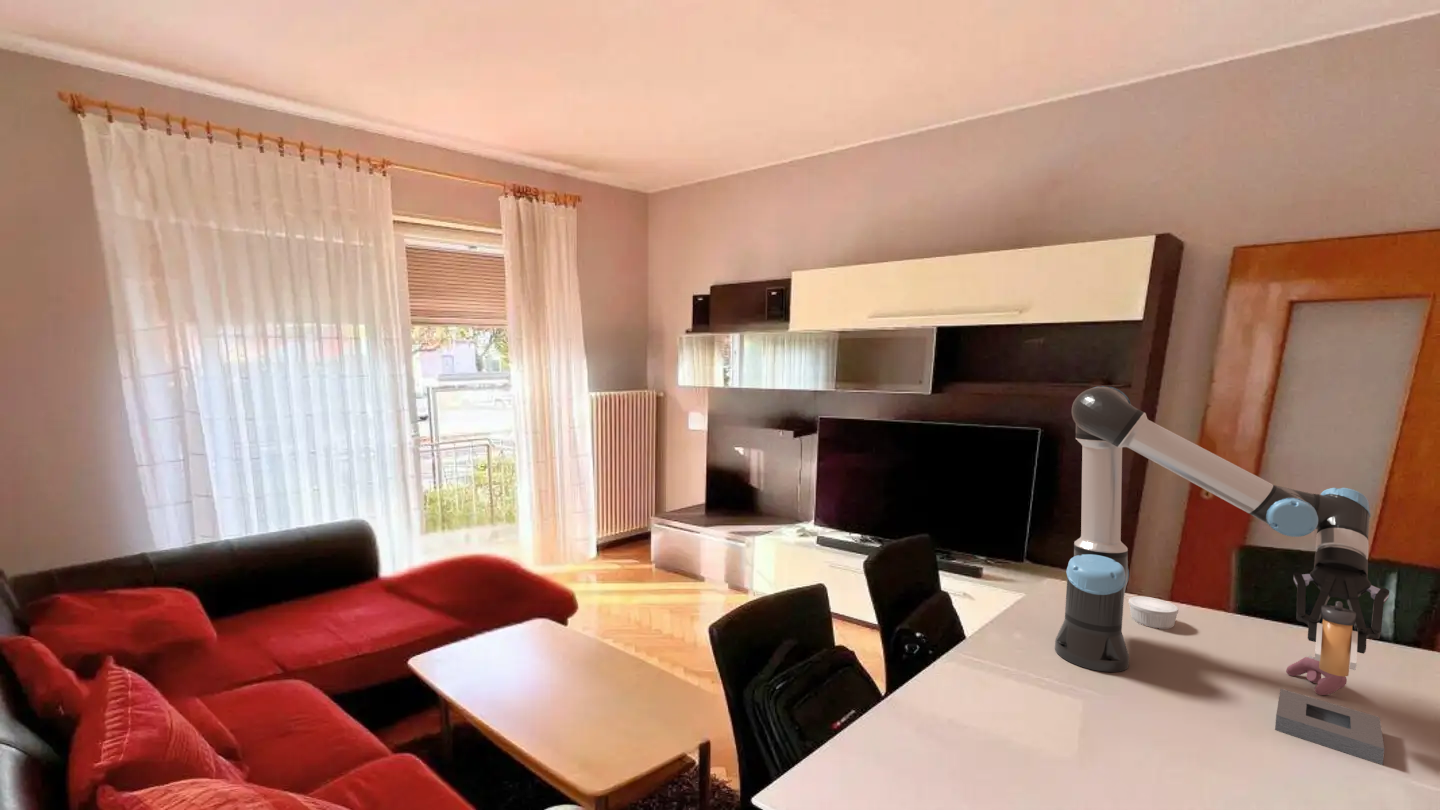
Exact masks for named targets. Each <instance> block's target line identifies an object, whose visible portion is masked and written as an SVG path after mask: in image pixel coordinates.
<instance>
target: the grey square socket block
mask: <svg viewBox="0 0 1440 810" xmlns="http://www.w3.org/2000/svg"><path fill="white" fill-rule="evenodd" d="M1276 708H1277V709H1276V714H1275V727H1274V730H1275V731H1276V732H1277V731H1278V732H1281V733H1284V734H1287V735H1290V736H1293V737H1296V738H1300V739H1302V740H1305V741H1308V742H1311V743H1314V744H1318V745H1321V746H1324V747H1327V748H1329V749H1333V750H1336V751H1339V752H1341V753H1345V754H1347V755H1351V756H1354V757H1357V758H1361V759H1363V760H1367V761H1368V762H1369V761H1370V762H1372V763H1375V762H1376V764H1379V765H1382V766H1383V764H1384V757H1385V756H1384V754H1385V745H1384V744H1385V743H1384V738H1383V732H1382V731H1383V729H1382V724H1381V717H1380V716H1376V715H1374V714H1370V713H1366V712H1363V711H1360V710H1357V709H1353V708H1349V707H1346V706H1342V705H1339V704H1335V703H1332V702H1329V701H1324V700H1321V699H1319V698H1314V697H1311V696H1308V695H1305V694H1300V693H1297V692H1295V691H1291V690H1287V689H1284V688H1280V689H1279V695H1278V701H1277V707H1276Z"/></svg>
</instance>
